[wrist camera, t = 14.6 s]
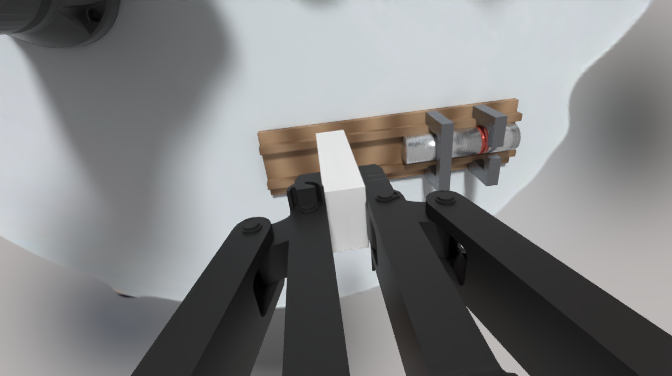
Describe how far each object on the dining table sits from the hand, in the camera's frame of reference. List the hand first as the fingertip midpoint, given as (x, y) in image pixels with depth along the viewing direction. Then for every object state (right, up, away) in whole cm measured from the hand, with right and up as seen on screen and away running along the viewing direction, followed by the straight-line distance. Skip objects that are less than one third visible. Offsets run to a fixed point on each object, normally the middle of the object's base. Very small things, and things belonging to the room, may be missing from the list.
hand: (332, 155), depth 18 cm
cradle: (+8, +4, +32) cm, 33 cm away
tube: (+18, +5, +31) cm, 37 cm away
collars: (+18, +5, +31) cm, 36 cm away
